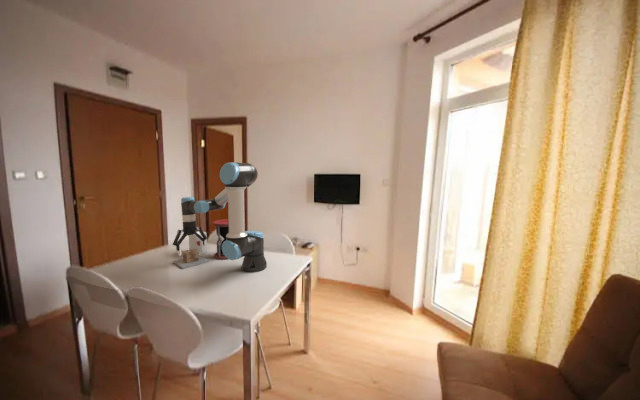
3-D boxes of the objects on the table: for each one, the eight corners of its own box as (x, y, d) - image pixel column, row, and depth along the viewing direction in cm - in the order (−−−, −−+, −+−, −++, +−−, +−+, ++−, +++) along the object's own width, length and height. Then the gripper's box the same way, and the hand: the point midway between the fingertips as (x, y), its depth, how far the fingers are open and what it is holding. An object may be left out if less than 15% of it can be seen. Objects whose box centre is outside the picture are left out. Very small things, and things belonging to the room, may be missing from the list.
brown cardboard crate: (194, 257, 164) (194, 248, 164) (198, 260, 160) (198, 251, 159) (182, 260, 159) (182, 250, 158) (187, 262, 154) (187, 253, 154)
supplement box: (195, 255, 173) (194, 234, 171) (189, 253, 177) (188, 233, 176) (207, 252, 180) (206, 232, 178) (200, 249, 185) (200, 230, 183)
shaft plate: (198, 256, 171) (198, 249, 170) (208, 261, 160) (208, 254, 160) (173, 262, 159) (172, 254, 158) (182, 269, 148) (182, 260, 148)
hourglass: (228, 260, 163) (227, 224, 160) (209, 258, 167) (207, 222, 165) (242, 253, 178) (242, 220, 175) (224, 251, 183) (223, 218, 180)
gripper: (206, 217, 168) (207, 247, 170) (165, 223, 149) (167, 256, 152) (211, 218, 163) (212, 249, 165) (169, 224, 145) (172, 259, 147)
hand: (191, 252), depth 158 cm, fingers open, 13 cm apart
